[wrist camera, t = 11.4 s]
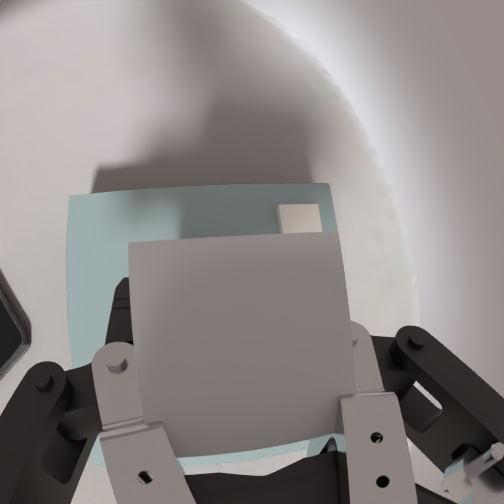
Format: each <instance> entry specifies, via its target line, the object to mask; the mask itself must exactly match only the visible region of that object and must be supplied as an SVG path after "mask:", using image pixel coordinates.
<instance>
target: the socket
mask: <svg viewBox="0 0 504 504" xmlns="http://www.w3.org/2000/svg"><path fill="white" fill-rule="evenodd" d="M327 231H338V230H337V224H336V218H335V213H334V207H333V202H332V196H331V191H330V186H329V183H255V184H219V185H196V186H177V187H161V188H147V189H134V190H122V191H111V192H101V193H91V194H82V195H73V196H70V197H69V209H68V224H67V247H66V291H67V314H68V328H69V340H70V350H71V359H72V367H73V369H75V368H78V367H82V366H85V365H87V364H89V363H91V362H92V359H93V356H94V355H95V353H96V352H97V351H98V350H99V349H100V348H101V347H103V346H104V345H105V340H106V334H107V328H108V323H109V317H110V312H111V310H112V309H111V307H112V302H113V297H114V293H115V288H116V286H117V285H118V284H119V283H120V281H121V280H122V279H123V278H124V277H129V261H128V242H142V241H158V240H174V239H190V238H207V237H225V236H243V235H263V234H283V233H304V232H327ZM308 445H309V440H305V441H300V442H296V443H291V444H286V445H281V446H275V447H270V448H264V449H258V450H251V451H244V452H237V453H229V454H220V455H210V456H197V457H181V458H179V461H180V463H181V465H182V467H191V466H204V465H215V464H224V463H232V462H240V461H247V460H253V459H260V458H265V457H271V456H276V455H282V454H286V453H291V452H296V451H300V450H305V449H308ZM90 458H91V461H92V465H93V466H103V467H106V464H105V460H104V457H103V453H102V449H101V444H100V439H99V435H98V436H97V439H96V441H95V443H94V446H93V448H92V450H91V453H90Z"/></svg>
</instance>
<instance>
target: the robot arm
mask: <svg viewBox="0 0 504 504" xmlns="http://www.w3.org/2000/svg"><path fill="white" fill-rule="evenodd" d="M111 309H112V310H111V312H110V317H109V323H108V328H107V334H106V340H105V345H104V346H103V347H101V348H100V349H99V350H98V351H97V352H96V353H95V355H94V356H93V359H92V362H91V363H89V364H87V365H85V366H82V367H78V368H75V369H71V370H68V371H64V370H63V368H62V367H61V366H60V365H58V364H57V363H55V362H50V361H45V362H40V363H38V364H36V365H34V366H33V367H31V368H30V369H29V370H28V371H27V373H26V374H25V376H24V377H23V379H22V381H21V382H20V384H19V385H18V387H17V389H16V390H15V392H14V394H13V395H12V397H11V399H10V400H9V402H8V404H7V405H6V407H5V409H4V411H3V412H2V414H1V416H0V504H70V503H71V501H72V498H73V495H74V493H75V490H76V487H77V485H78V482H79V480H80V477H81V475H82V472H83V470H84V467H85V465H86V462H87V460H88V458H89V455H90V453H91V450H92V448H93V446H94V443H95V441H96V439H97V436H98V435H99V439H100V444H101V449H102V453H103V457H104V460H105V464H106V468H107V471H108V475H109V478H110V482H111V485H112V488H113V492H114V495H115V498H116V501H117V504H504V398H502V396H500V395H499V394H498V393H497V392H496V391H495V390H494V389H493V388H491V386H489V385H488V384H487V383H486V382H485V381H484V380H483V379H482V378H481V377H479V376H478V375H477V374H476V373H475V372H474V371H472V370H471V369H470V368H469V367H468V366H467V365H466V364H465V363H463V362H462V361H461V360H460V359H459V358H458V357H457V356H455V355H454V354H453V353H452V352H451V351H450V350H448V349H447V348H446V347H445V346H444V345H443V344H441V343H440V342H439V341H438V340H437V339H435V338H434V337H433V336H432V335H431V334H429V333H428V332H427V331H425V330H424V329H422V328H420V327H417V326H404V327H402V328H400V329H399V330H398V332H397V334H396V336H395V337H381V336H372V335H370V334H369V332H368V331H367V330H366V328H364V327H363V326H362V325H360V324H358V323H356V322H353V321H350V324H351V334H352V345H353V357H354V370H355V385H356V394H347V395H339V399H338V407H337V415H336V423H335V430H334V433H333V434H329V435H325V436H322V437H317V438H313V439H309V445H308V450H307V457H306V458H303V459H301V460H299V461H297V462H295V463H293V464H291V465H289V466H286V467H284V468H282V469H280V470H278V471H276V472H273V473H271V474H269V475H266V476H251V475H238V474H227V473H209V474H196V475H186V474H185V472H184V469H183V467H182V465H181V463H180V461H179V458H176V456H175V453H174V451H173V448H172V446H171V444H170V441H169V439H168V436H167V434H166V431H165V429H164V426H163V423H162V421H155V422H149V423H144V417H143V411H142V405H141V398H140V392H139V385H138V377H137V370H136V361H135V352H134V343H133V332H132V320H131V306H130V288H129V277H124V278H123V279H122V280H121V281H120V283H119V284H118V285H117V286H116V288H115V293H114V297H113V302H112V307H111ZM416 381H417V382H418V383H419V384H420V385H421V386H422V387H423V388H424V389H426V390H427V391H428V392H429V393H430V394H431V395H432V396H433V397H434V398H435V399H436V400H437V401H438V402H439V403H440V404H441V406H442V409H439V408H437V407H436V406H435V405H434V404H433V403H432V402H430V400H428V399H427V398H426V397H425V396H424V395H423V394H422V393H421V392H420V391H419V390H418V389H417V388H416V387H415V386H414V385H413V384H414V383H415V382H416ZM406 436H407V437H408V438H409V439H410V440H411V441H412V442H413V443H414V444H415V445H416V446H417V447H418V448H419V449H420V450H421V451H422V452H423V453H424V454H425V455H426V456H427V457H428V458H429V459H430V460H431V461H432V462H433V463H434V464H435V465H436V466H437V467H438V468H439V469H440V470H441V471H442V472H443V473H444V480H443V481H442V483H441V488H442V490H443V491H444V492H446V493H449V492H450V494H451V496H452V498H453V501H451V500H449V499H447V498H445V497H443V496H441V495H439V494H437V493H434V492H432V491H430V490H428V489H426V488H424V487H422V486H420V485H418V484H416V483H415V482H414V476H413V470H412V464H411V459H410V453H409V448H408V443H407V438H406Z"/></svg>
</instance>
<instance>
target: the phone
mask: <svg viewBox="0 0 504 504" xmlns="http://www.w3.org/2000/svg"><path fill="white" fill-rule="evenodd" d="M6 296H7V297H6ZM9 301H10V302H9ZM10 303H11V304H10ZM21 320H22V321H21ZM30 346H31V333H30V331H29V329H28V327H27V325H26V324H25V322H24V321H23V319H22V317H21V316H20V314H19V312H18V311H17V309H16V308H15V306H14V304H13V302H12V301H11V299H10V297H9V296H8V294H7V292H6V290H5V288H4V287H3V285H2V283H1V281H0V381H1V379H2V378H3V377H4V376H5V375H6V374H7V373H8V372H9V370H10V369H11V368H12V367H13V366H14V365H15V364H16V363H17V362H18V361H19V360H20V358H21V357H22V356H23V355H24V354H25V353H26V352H27V351H28V350H29V348H30Z"/></svg>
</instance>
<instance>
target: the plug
mask: <svg viewBox="0 0 504 504" xmlns="http://www.w3.org/2000/svg"><path fill="white" fill-rule="evenodd" d="M128 261H129V288H130V306H131V320H132V332H133V343H134V352H135V361H136V370H137V377H138V385H139V392H140V398H141V405H142V411H143V417H144V423H149V422H155V421H162V423H163V426H164V429H165V431H166V434H167V436H168V439H169V441H170V444H171V446H172V448H173V451H174V453H175V456H176V458H181V457H197V456H210V455H220V454H229V453H237V452H244V451H251V450H258V449H264V448H270V447H275V446H281V445H286V444H291V443H296V442H300V441H305V440H309V439H313V438H317V437H322V436H325V435H329V434H333V433H334V430H335V423H336V415H337V407H338V399H339V395H347V394H356V385H355V370H354V357H353V345H352V334H351V324H350V315H349V306H348V298H347V290H346V282H345V274H344V267H343V260H342V254H341V247H340V241H339V235H338V231H327V232H304V233H283V234H263V235H243V236H225V237H207V238H190V239H174V240H158V241H142V242H128Z"/></svg>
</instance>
